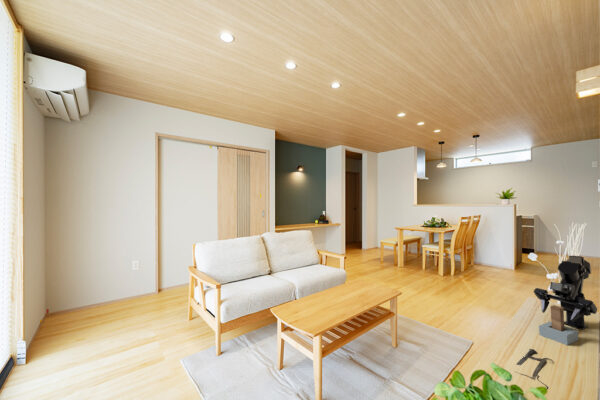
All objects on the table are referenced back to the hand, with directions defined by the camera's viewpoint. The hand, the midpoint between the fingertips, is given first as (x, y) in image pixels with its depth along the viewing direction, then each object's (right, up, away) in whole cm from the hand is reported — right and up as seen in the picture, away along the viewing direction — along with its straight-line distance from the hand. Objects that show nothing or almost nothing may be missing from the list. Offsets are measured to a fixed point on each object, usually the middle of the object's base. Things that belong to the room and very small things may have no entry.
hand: (556, 316), depth 108 cm
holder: (+1, -9, 0) cm, 9 cm away
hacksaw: (-26, -10, -19) cm, 34 cm away
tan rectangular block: (+1, -9, 0) cm, 9 cm away
